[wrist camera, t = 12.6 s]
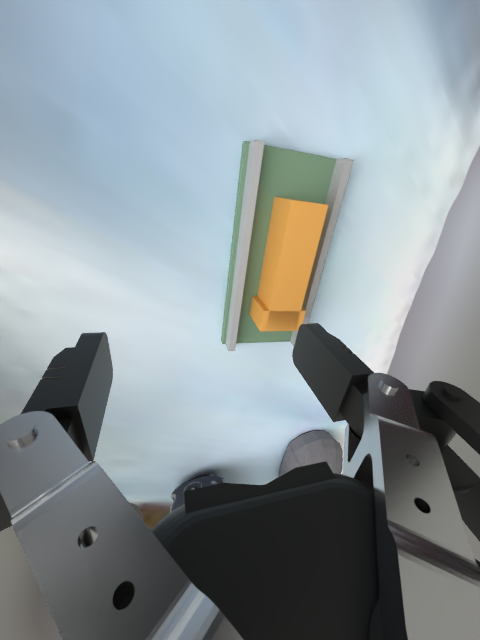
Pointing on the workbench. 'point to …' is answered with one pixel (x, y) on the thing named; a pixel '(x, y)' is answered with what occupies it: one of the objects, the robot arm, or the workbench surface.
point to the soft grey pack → (312, 452)
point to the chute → (287, 264)
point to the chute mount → (253, 224)
